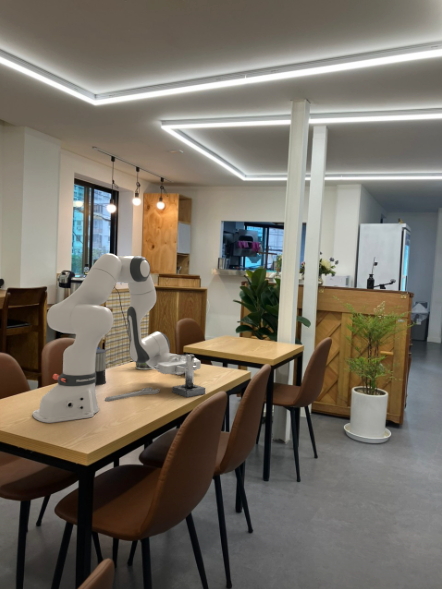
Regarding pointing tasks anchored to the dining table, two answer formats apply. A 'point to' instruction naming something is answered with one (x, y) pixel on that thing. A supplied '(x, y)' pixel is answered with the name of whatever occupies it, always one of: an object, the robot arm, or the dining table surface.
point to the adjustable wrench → (132, 394)
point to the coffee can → (143, 366)
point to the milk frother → (100, 366)
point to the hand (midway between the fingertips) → (190, 369)
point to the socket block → (188, 390)
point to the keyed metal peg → (189, 370)
